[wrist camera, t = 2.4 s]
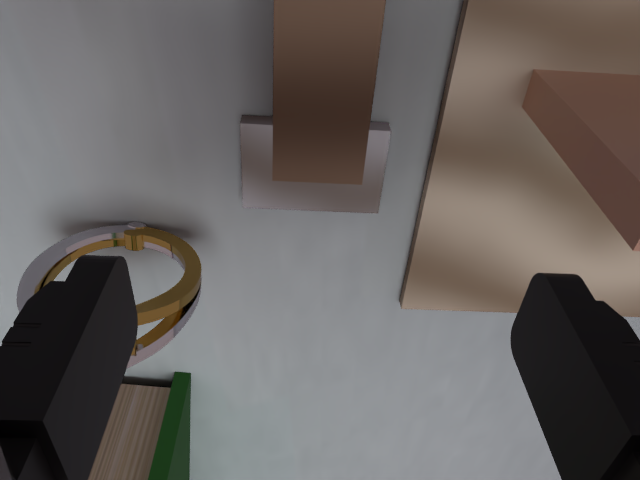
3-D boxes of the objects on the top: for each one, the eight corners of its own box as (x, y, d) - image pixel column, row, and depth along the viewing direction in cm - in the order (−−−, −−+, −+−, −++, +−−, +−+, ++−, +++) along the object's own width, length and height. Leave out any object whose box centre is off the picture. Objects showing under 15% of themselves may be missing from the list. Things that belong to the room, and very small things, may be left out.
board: (471, -36, 18) (475, -33, 18) (857, -10, 19) (872, -6, 18) (399, 300, 28) (401, 308, 27) (656, 309, 29) (661, 317, 28)
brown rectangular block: (237, -52, 18) (216, -19, 14) (413, -40, 18) (442, -5, 14) (244, 197, 24) (231, 270, 20) (376, 203, 24) (389, 276, 20)
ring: (214, 209, 24) (179, 343, 18) (212, 262, 26) (181, 400, 20) (55, 192, 23) (-39, 325, 17) (66, 248, 25) (-15, 386, 19)
